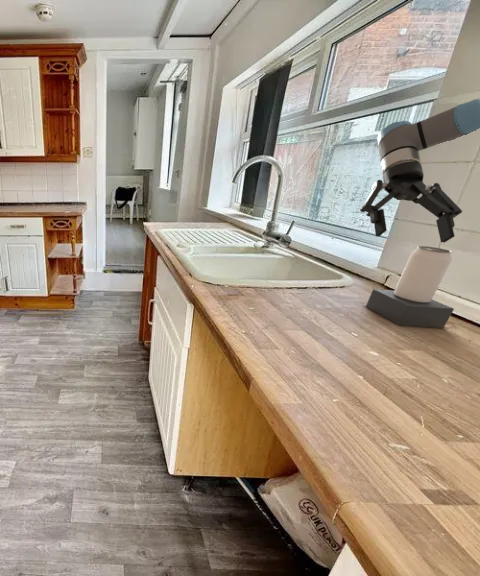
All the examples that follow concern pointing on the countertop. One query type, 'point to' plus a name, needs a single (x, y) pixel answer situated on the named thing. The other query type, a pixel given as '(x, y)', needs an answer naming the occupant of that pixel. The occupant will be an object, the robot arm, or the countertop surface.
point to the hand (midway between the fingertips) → (413, 236)
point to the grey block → (408, 310)
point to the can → (423, 274)
